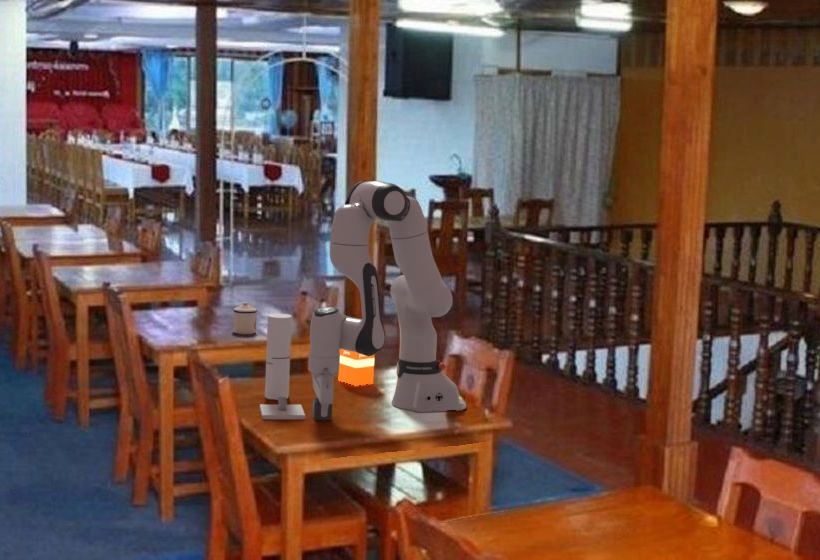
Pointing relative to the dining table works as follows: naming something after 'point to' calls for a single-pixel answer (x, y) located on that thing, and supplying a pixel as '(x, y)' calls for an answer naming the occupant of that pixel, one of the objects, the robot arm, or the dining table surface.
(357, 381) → the orange juice
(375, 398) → the dining table surface
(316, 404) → the dark grey cube block
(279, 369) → the cylindrical container
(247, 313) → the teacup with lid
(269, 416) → the shaft base
